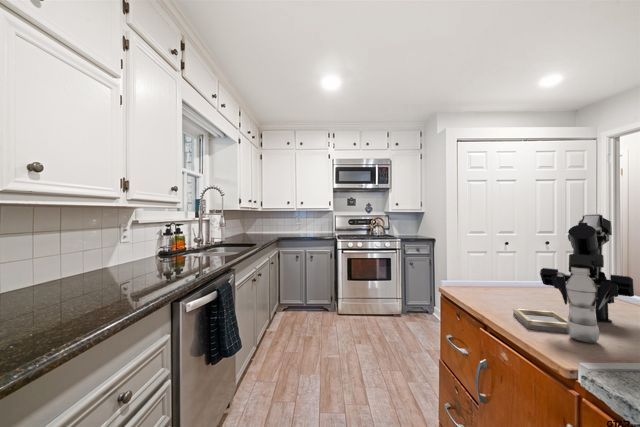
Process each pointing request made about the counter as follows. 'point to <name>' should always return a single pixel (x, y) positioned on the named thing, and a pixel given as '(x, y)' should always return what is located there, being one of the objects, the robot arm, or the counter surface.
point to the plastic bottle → (582, 305)
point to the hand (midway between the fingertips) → (581, 306)
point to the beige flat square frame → (541, 320)
